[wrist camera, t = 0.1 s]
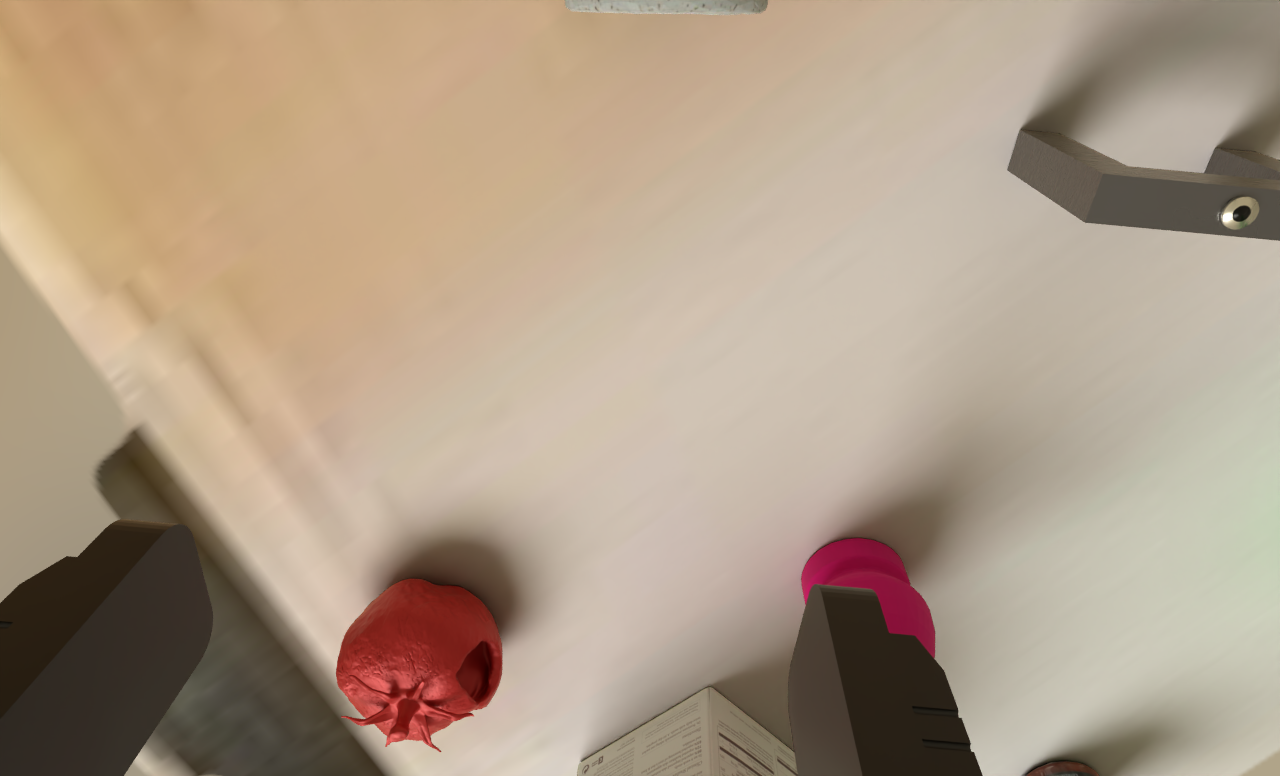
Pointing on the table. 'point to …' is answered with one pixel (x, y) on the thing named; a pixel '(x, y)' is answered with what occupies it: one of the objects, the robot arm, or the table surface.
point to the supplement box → (695, 745)
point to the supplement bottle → (1063, 769)
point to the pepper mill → (873, 583)
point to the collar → (1154, 188)
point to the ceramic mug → (669, 6)
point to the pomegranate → (420, 659)
